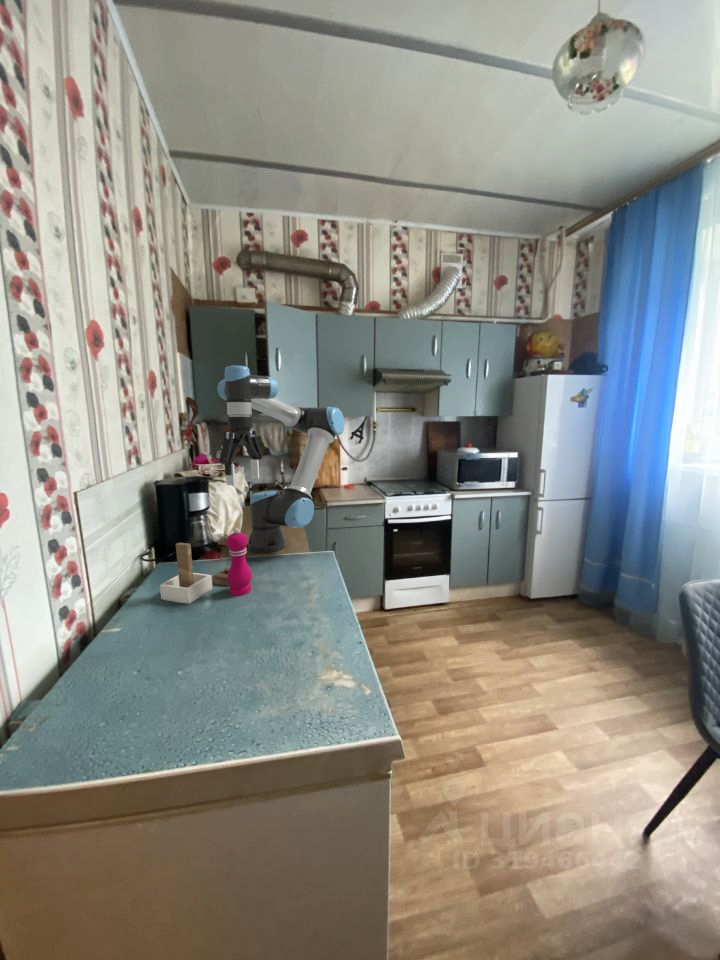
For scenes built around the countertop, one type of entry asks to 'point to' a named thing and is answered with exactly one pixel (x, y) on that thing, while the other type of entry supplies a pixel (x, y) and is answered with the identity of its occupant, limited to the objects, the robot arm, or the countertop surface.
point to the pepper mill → (238, 564)
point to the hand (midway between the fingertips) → (243, 481)
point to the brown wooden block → (184, 564)
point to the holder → (221, 577)
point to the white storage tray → (186, 589)
